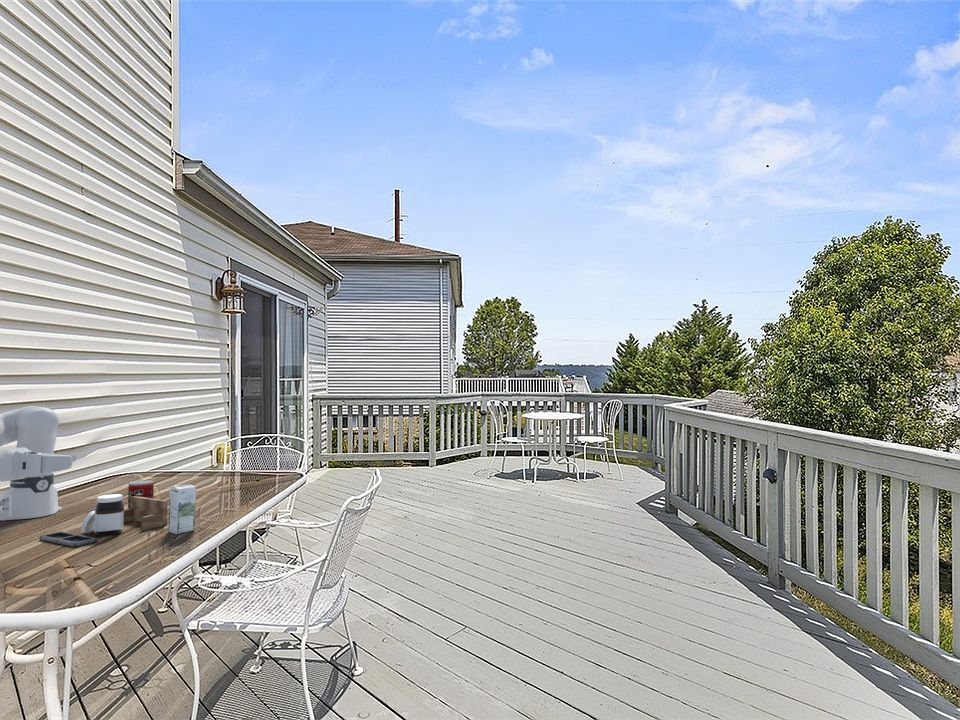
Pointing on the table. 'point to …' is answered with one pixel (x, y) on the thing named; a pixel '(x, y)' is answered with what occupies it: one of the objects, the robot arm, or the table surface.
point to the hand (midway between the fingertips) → (70, 457)
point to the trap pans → (68, 539)
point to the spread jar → (105, 516)
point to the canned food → (140, 489)
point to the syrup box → (182, 509)
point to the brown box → (147, 512)
